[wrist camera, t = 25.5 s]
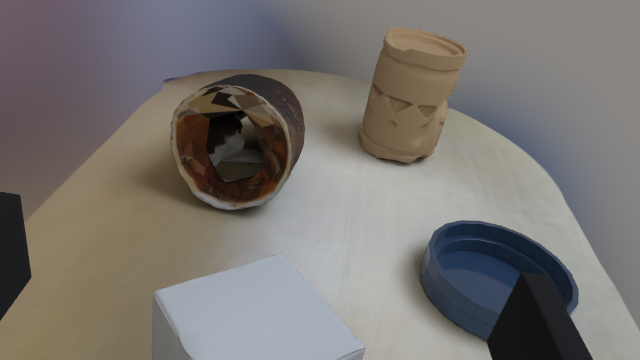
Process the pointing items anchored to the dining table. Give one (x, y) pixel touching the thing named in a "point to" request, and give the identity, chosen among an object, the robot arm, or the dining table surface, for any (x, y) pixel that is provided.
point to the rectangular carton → (249, 318)
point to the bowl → (485, 272)
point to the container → (410, 94)
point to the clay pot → (237, 139)
